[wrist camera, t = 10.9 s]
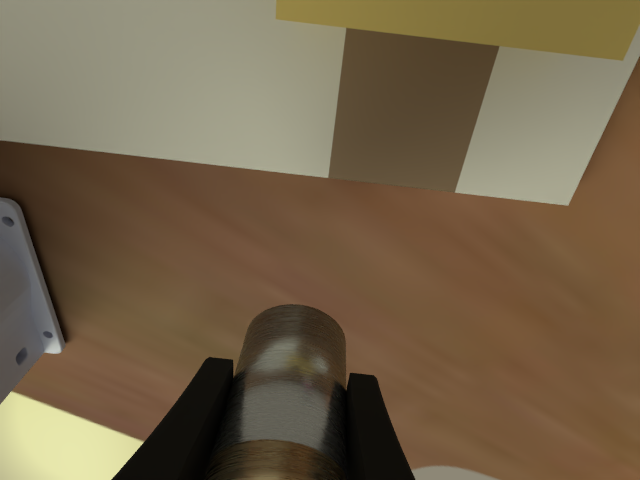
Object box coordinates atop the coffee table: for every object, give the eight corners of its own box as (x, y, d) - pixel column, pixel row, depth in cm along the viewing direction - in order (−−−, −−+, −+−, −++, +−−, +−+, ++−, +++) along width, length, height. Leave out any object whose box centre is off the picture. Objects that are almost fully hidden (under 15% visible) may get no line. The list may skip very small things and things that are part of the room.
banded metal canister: (339, 381, 13) (335, 720, 7) (245, 371, 13) (159, 702, 7) (352, 310, 11) (363, 671, 5) (246, 298, 11) (134, 647, 5)
